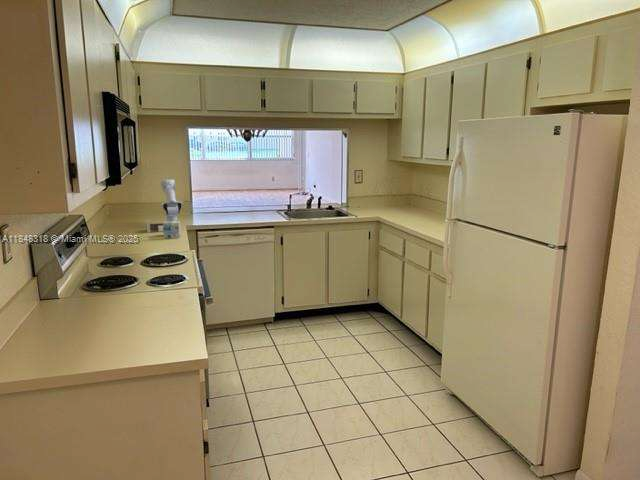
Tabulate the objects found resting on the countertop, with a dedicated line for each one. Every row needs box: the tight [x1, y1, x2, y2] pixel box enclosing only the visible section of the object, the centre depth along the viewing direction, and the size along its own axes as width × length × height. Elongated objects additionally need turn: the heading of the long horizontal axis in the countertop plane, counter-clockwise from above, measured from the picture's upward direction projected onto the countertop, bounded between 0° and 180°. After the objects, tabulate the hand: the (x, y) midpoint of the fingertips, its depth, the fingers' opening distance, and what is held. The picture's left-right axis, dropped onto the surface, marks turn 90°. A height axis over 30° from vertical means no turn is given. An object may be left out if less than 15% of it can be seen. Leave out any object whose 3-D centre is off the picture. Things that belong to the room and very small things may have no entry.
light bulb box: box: [162, 220, 181, 239], centre depth 325 cm, size 11×7×11 cm, turn 101°
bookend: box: [146, 218, 151, 234], centre depth 337 cm, size 10×2×8 cm, turn 18°
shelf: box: [149, 222, 164, 234], centre depth 341 cm, size 12×18×6 cm
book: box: [157, 225, 164, 233], centre depth 340 cm, size 8×5×3 cm, turn 18°
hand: (173, 213), depth 337 cm, fingers open, 7 cm apart
